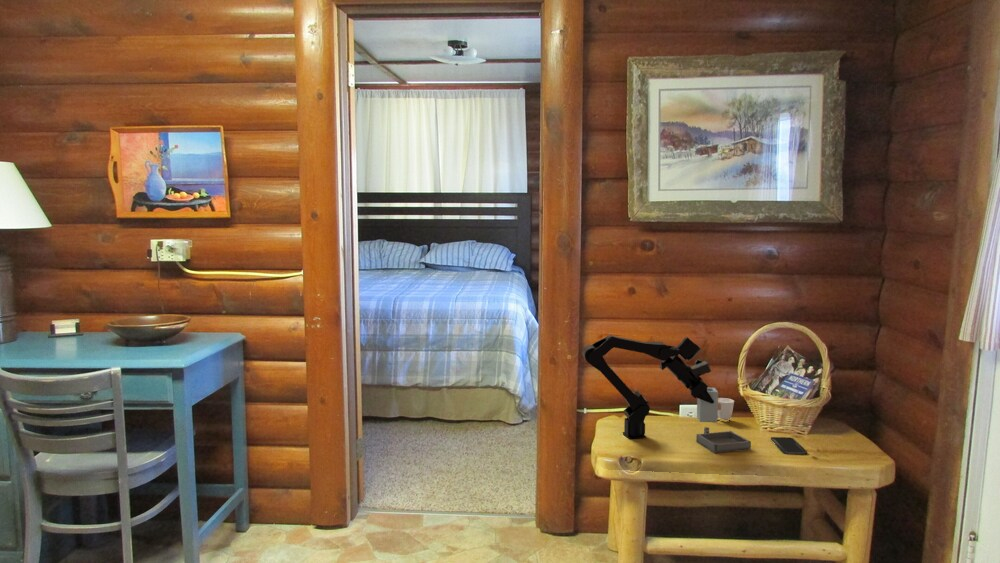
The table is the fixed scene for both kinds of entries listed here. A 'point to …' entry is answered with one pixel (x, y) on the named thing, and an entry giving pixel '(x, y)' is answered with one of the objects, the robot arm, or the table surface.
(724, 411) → the cup
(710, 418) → the sleeve
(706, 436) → the tray
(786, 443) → the phone
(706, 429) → the grey metal capsule
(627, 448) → the table surface
